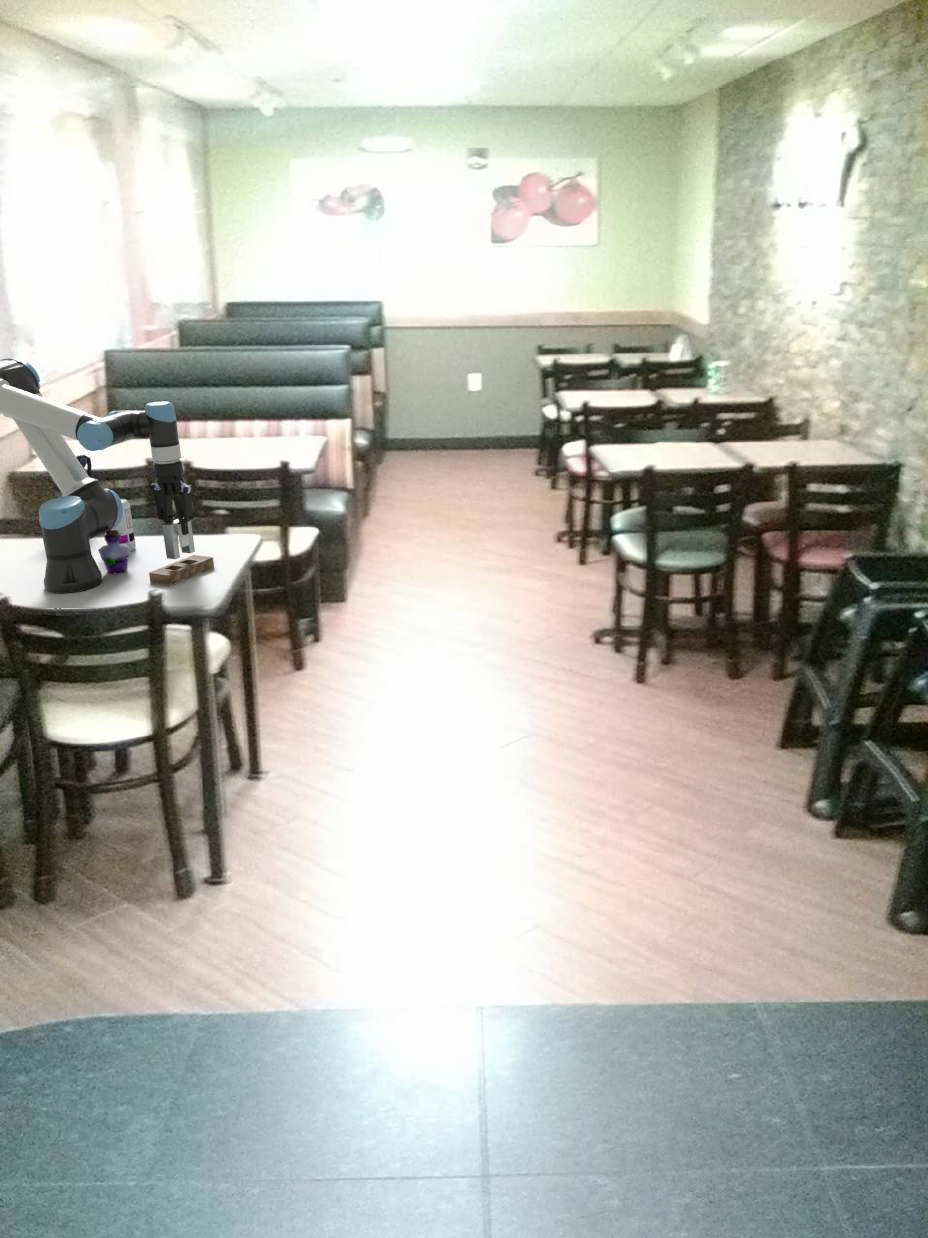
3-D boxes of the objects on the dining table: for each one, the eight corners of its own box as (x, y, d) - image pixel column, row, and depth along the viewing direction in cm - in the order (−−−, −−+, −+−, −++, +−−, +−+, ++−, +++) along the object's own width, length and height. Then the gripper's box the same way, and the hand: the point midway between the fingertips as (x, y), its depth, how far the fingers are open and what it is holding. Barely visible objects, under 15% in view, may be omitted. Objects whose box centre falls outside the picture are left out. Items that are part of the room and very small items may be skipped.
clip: (175, 559, 312) (170, 525, 309) (166, 558, 313) (161, 524, 310) (195, 551, 318) (190, 518, 315) (186, 550, 320) (182, 517, 316)
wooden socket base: (169, 586, 309) (168, 575, 308) (150, 583, 312) (148, 572, 311) (214, 567, 323) (213, 557, 322) (195, 564, 326) (194, 554, 326)
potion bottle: (100, 577, 319) (94, 536, 315) (101, 567, 327) (96, 527, 323) (132, 575, 321) (127, 534, 317) (133, 565, 329) (128, 525, 325)
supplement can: (119, 555, 340) (111, 506, 335) (102, 551, 345) (94, 503, 340) (141, 548, 346) (134, 500, 341) (124, 545, 351) (117, 497, 346)
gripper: (199, 459, 306) (211, 544, 314) (154, 456, 314) (167, 539, 322) (180, 465, 300) (192, 551, 308) (135, 462, 308) (148, 546, 315)
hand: (179, 545), depth 315 cm, fingers closed on clip, 3 cm apart
